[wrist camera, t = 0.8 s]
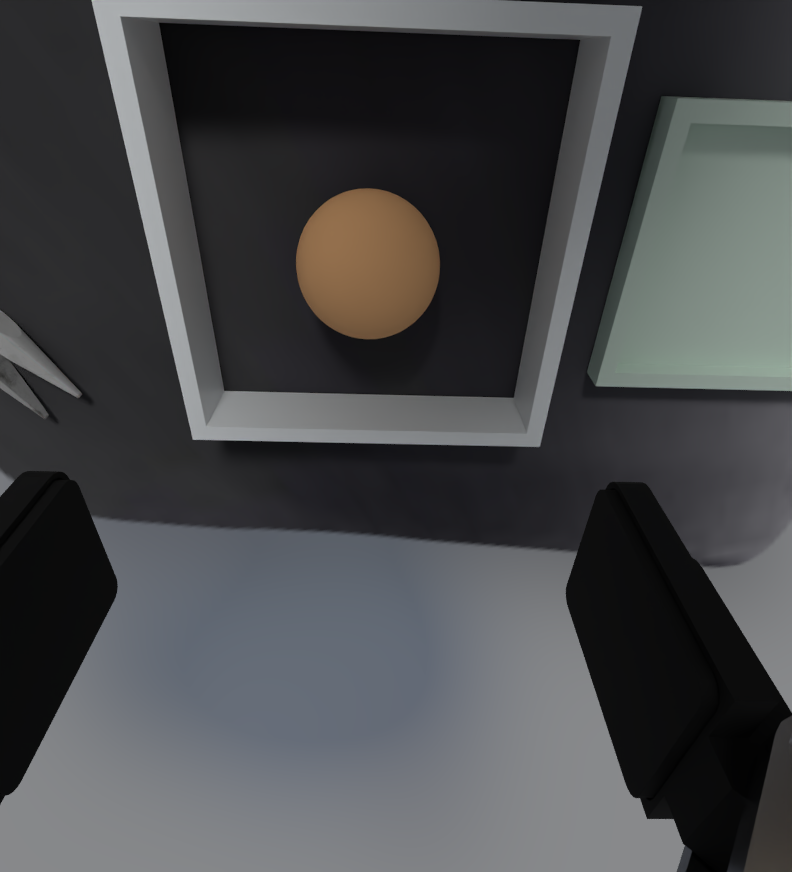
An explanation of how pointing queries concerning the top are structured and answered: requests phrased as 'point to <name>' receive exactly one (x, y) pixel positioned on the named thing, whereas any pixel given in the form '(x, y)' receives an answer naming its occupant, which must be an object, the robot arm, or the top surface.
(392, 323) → the ball
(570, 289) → the grey square frame
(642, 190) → the tray
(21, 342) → the pliers
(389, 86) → the top surface
